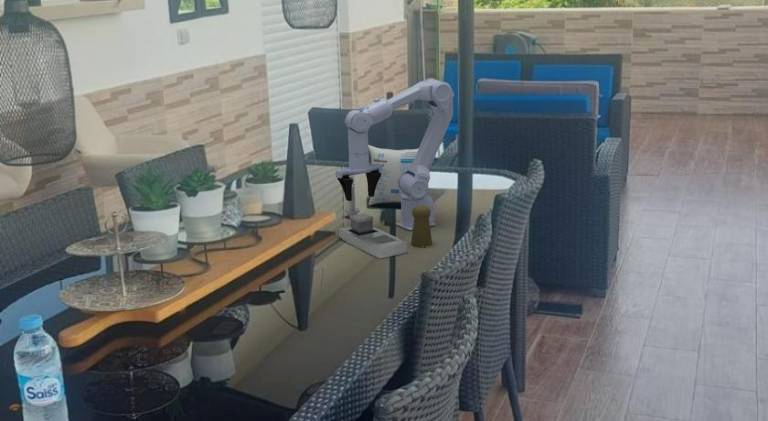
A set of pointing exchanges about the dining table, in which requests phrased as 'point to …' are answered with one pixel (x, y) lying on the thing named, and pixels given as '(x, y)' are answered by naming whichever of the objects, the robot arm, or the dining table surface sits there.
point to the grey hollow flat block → (375, 242)
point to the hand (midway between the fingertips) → (360, 198)
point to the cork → (421, 226)
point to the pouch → (390, 172)
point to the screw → (352, 203)
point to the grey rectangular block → (361, 224)
